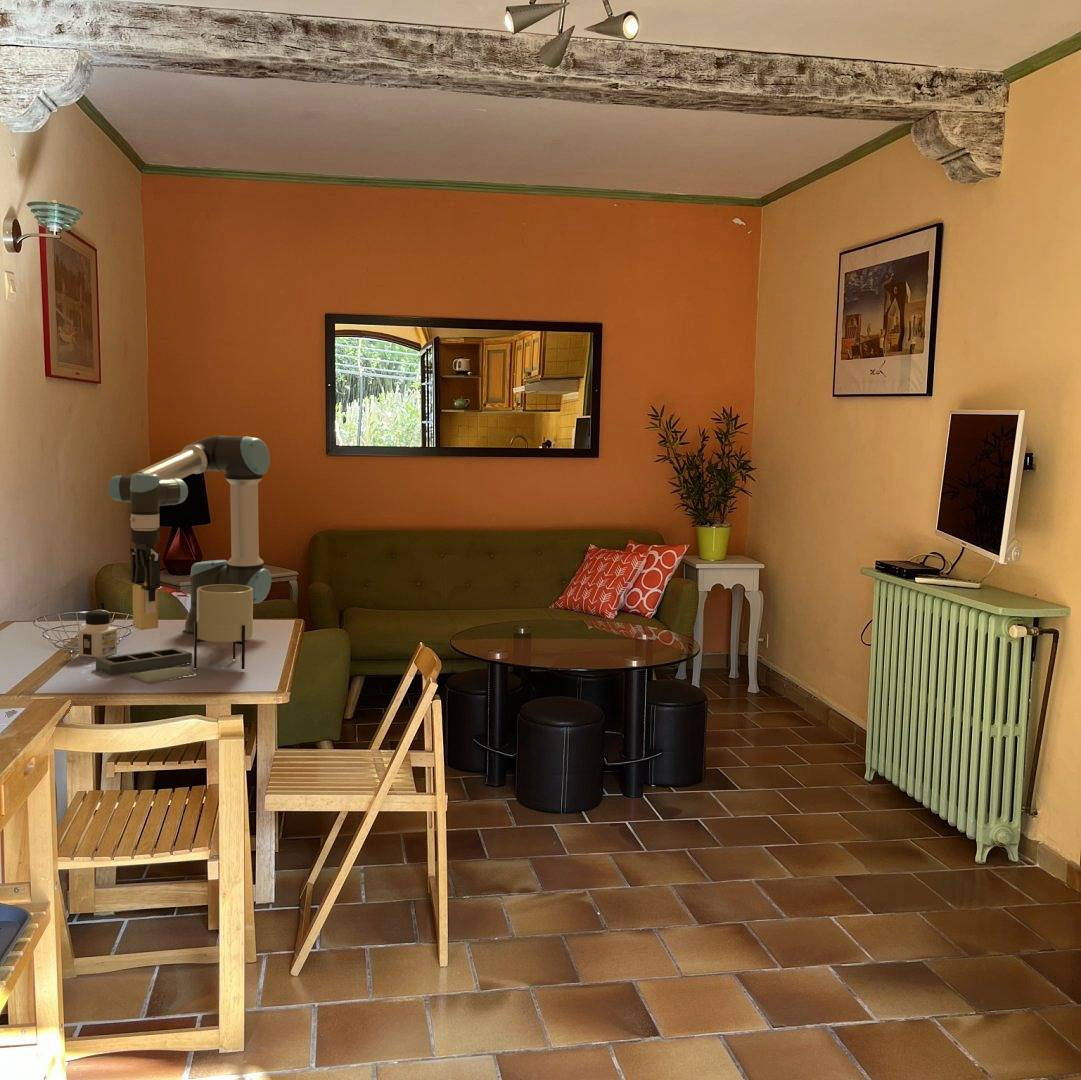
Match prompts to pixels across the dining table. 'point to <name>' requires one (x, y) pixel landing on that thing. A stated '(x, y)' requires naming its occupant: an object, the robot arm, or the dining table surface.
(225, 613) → the planter
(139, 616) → the wooden block
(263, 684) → the dining table surface
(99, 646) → the container
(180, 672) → the mat
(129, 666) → the grey compartment tray
